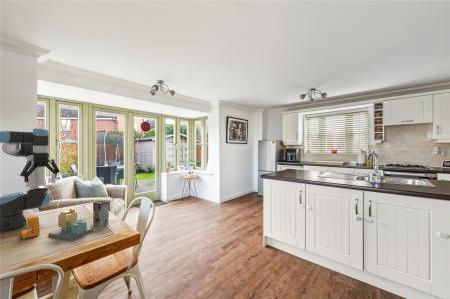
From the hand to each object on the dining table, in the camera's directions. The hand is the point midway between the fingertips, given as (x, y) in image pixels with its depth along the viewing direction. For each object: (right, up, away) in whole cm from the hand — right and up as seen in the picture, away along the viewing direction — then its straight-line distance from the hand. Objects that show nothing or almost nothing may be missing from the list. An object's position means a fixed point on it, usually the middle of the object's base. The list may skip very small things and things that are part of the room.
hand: (41, 185), depth 127 cm
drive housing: (+19, -32, +1) cm, 37 cm away
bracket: (-5, -32, -2) cm, 32 cm away
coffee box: (+28, -32, +17) cm, 46 cm away
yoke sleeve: (+16, -27, +2) cm, 31 cm away
